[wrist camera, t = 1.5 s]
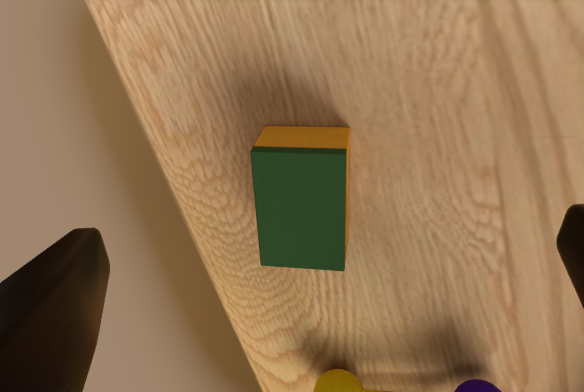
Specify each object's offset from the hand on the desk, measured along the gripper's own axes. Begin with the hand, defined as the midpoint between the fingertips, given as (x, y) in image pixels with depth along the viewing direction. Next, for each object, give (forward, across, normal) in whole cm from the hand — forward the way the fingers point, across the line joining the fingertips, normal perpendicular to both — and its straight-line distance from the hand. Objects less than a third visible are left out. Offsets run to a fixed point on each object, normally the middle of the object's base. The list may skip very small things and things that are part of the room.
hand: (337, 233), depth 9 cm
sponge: (+13, -1, +7) cm, 15 cm away
